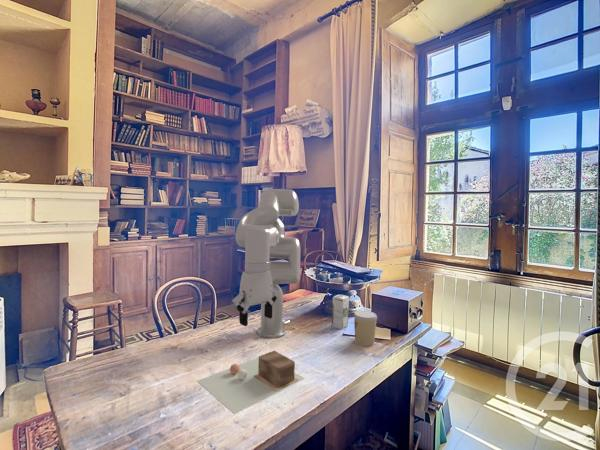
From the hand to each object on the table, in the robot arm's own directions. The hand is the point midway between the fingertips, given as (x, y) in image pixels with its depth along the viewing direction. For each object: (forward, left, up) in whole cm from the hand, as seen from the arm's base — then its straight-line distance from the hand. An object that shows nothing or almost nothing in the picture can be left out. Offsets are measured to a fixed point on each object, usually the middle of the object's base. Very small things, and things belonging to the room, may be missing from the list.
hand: (256, 321), depth 99 cm
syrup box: (-57, -12, -20) cm, 62 cm away
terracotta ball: (+4, -6, -18) cm, 19 cm away
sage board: (+2, +1, -19) cm, 19 cm away
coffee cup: (-51, +6, -20) cm, 55 cm away
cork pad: (-4, +5, -18) cm, 19 cm away
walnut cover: (-4, +5, -18) cm, 19 cm away
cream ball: (+4, -2, -18) cm, 19 cm away
